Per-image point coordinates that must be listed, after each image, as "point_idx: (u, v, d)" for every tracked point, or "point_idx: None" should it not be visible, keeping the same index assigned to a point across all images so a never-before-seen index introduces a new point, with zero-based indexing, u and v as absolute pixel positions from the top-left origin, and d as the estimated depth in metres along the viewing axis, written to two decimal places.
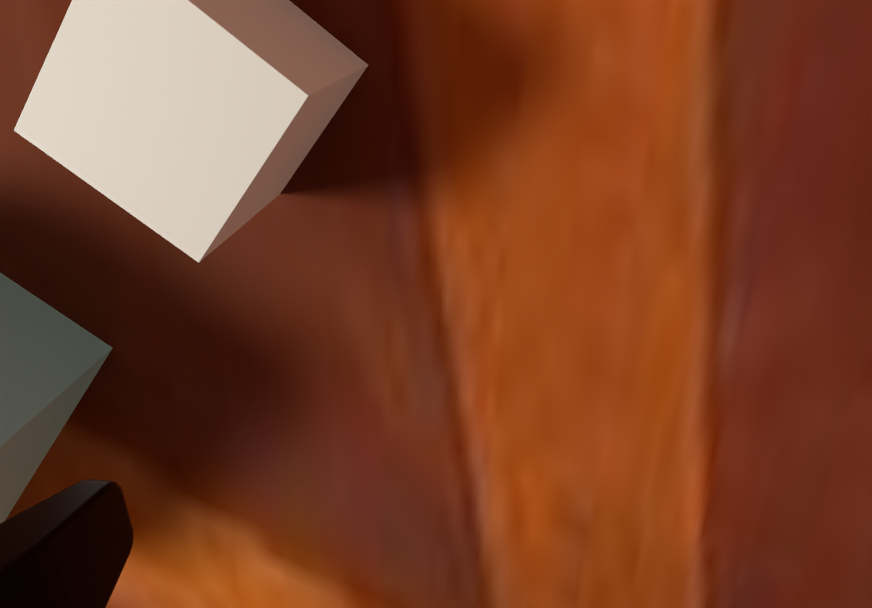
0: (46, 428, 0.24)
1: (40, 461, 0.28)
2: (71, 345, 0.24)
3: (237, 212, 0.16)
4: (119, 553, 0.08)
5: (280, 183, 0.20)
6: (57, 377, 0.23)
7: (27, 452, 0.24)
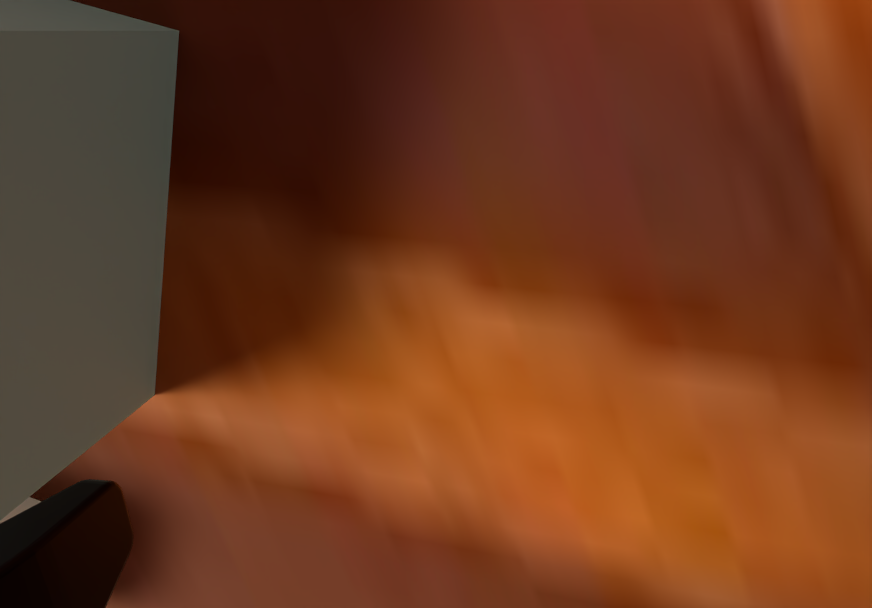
0: (121, 139, 0.17)
1: (159, 263, 0.21)
2: (120, 20, 0.18)
3: None
4: (119, 553, 0.08)
5: None
6: (99, 25, 0.16)
7: (106, 176, 0.17)
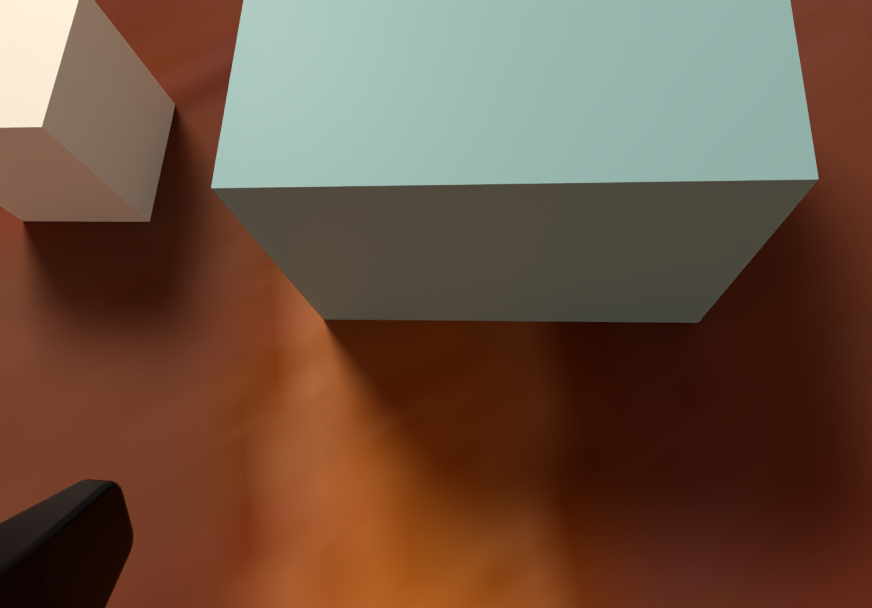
0: (621, 297, 0.19)
1: (475, 318, 0.22)
2: None
3: None
4: (119, 553, 0.08)
5: None
6: None
7: (591, 290, 0.19)
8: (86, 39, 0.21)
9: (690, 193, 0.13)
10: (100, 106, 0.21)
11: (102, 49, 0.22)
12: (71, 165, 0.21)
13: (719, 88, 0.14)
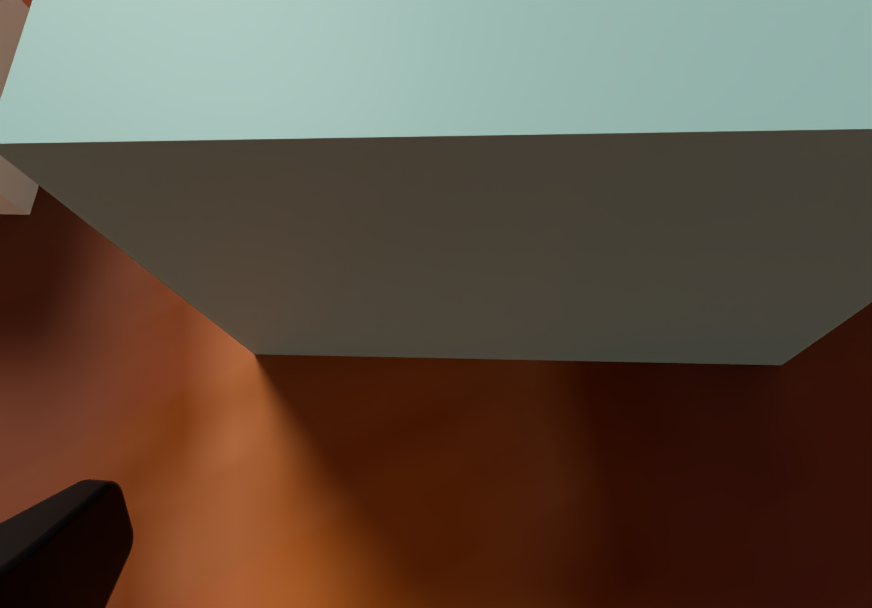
0: (681, 331, 0.13)
1: (466, 355, 0.15)
2: None
3: None
4: (119, 553, 0.08)
5: None
6: None
7: (637, 321, 0.13)
8: None
9: (859, 153, 0.07)
10: None
11: None
12: None
13: None
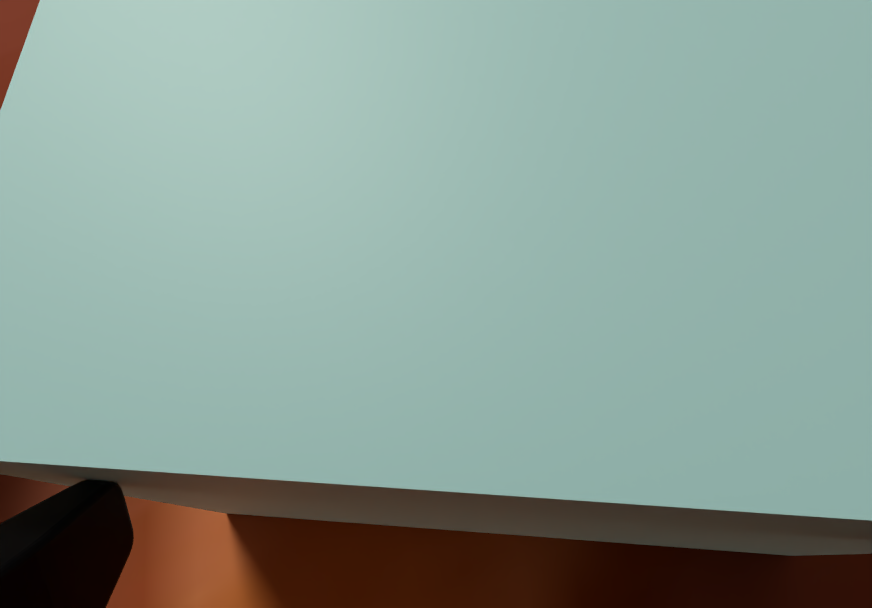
0: (683, 542, 0.12)
1: (449, 529, 0.14)
2: None
3: None
4: (119, 553, 0.08)
5: None
6: None
7: (635, 537, 0.11)
8: None
9: None
10: None
11: None
12: None
13: None
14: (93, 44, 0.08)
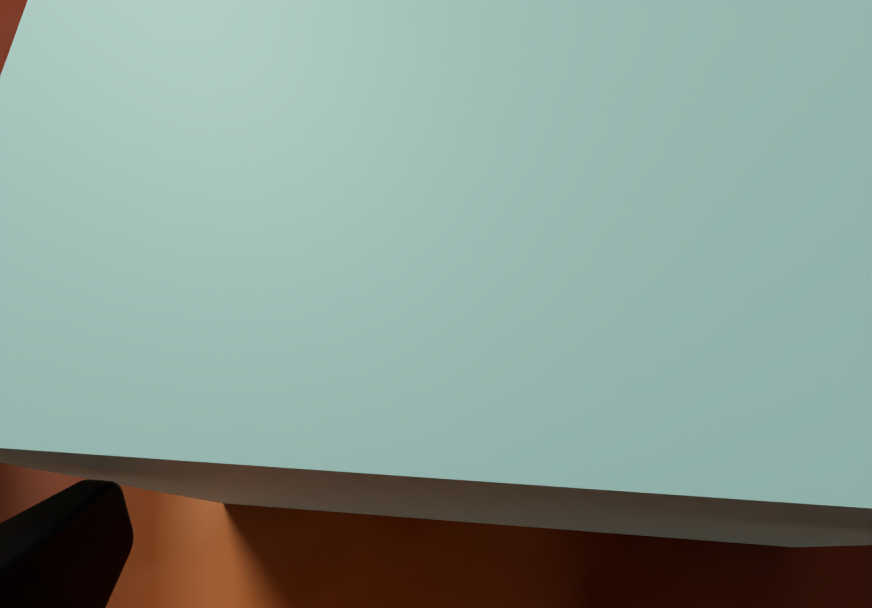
0: (684, 533, 0.12)
1: (450, 520, 0.14)
2: None
3: None
4: (119, 553, 0.08)
5: None
6: None
7: (636, 528, 0.11)
8: None
9: None
10: None
11: None
12: None
13: None
14: (88, 27, 0.08)
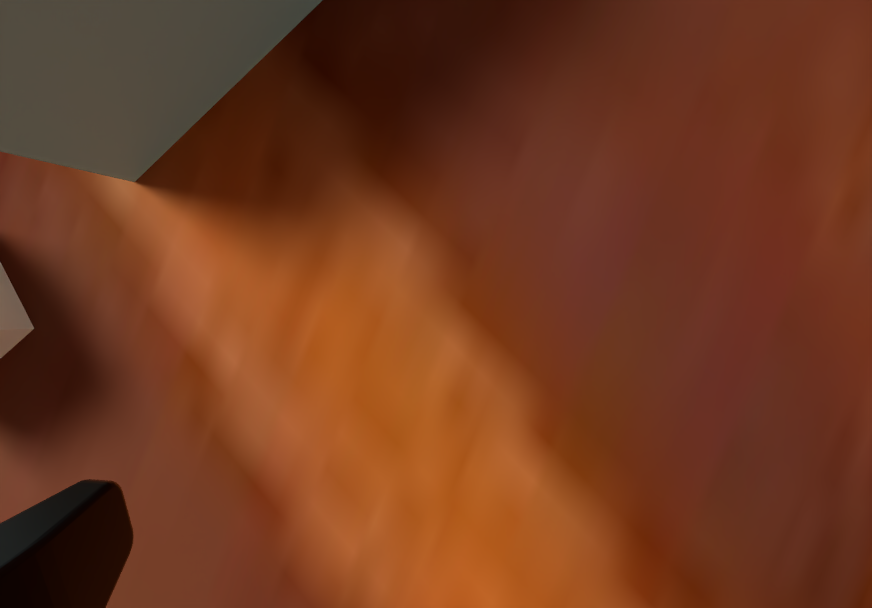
0: None
1: (227, 85, 0.23)
2: None
3: None
4: (119, 553, 0.08)
5: None
6: None
7: None
8: None
9: None
10: None
11: None
12: None
13: None
14: None
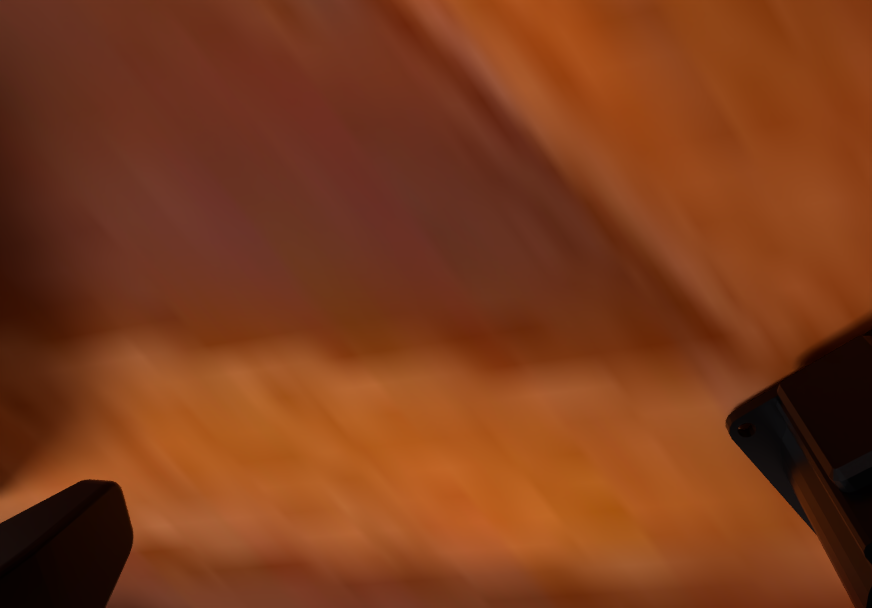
0: None
1: None
2: None
3: None
4: (119, 553, 0.08)
5: None
6: None
7: None
8: None
9: None
10: None
11: None
12: None
13: None
14: None
